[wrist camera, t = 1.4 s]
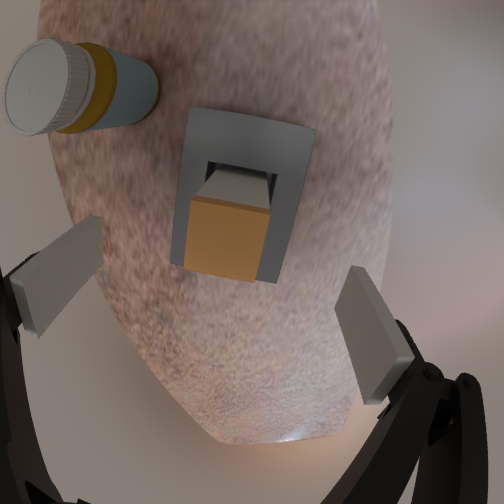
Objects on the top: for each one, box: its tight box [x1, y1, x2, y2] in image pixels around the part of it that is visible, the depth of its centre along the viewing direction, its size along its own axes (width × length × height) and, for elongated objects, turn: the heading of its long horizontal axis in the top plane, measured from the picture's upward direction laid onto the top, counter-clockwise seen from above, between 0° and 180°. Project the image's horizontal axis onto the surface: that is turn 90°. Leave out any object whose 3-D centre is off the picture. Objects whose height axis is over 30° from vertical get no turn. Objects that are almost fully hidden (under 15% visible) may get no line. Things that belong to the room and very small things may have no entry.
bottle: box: [2, 39, 160, 136], centre depth 17 cm, size 7×7×15 cm
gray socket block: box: [170, 106, 317, 284], centre depth 26 cm, size 14×10×6 cm
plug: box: [183, 163, 270, 283], centre depth 22 cm, size 4×4×13 cm
